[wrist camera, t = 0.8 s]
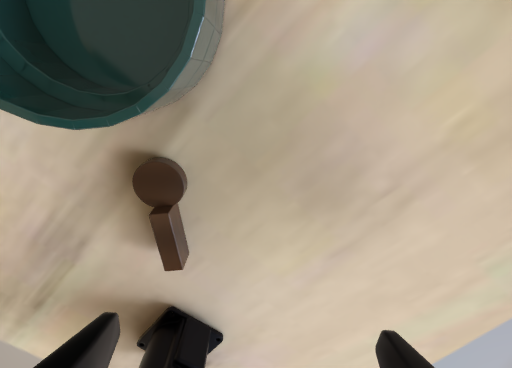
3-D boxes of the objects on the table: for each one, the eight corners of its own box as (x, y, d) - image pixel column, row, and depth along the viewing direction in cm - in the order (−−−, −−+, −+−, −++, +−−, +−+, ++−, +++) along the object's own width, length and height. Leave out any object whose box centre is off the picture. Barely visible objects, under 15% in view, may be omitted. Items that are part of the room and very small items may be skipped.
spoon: (202, 251, 23) (197, 268, 21) (159, 255, 23) (150, 272, 21) (181, 155, 20) (173, 164, 18) (132, 159, 20) (118, 169, 18)
